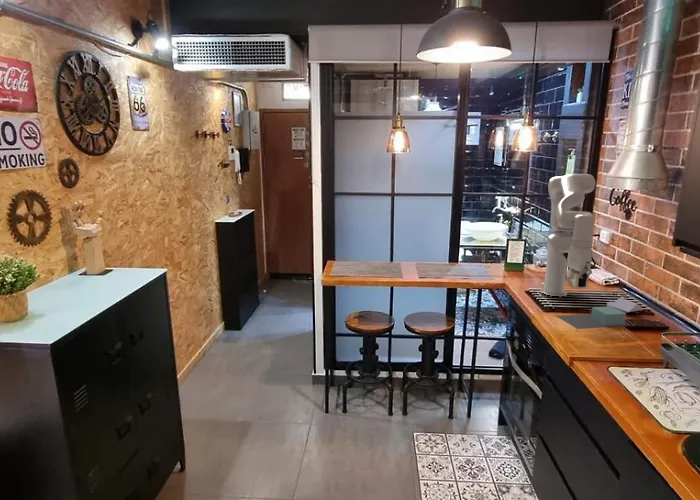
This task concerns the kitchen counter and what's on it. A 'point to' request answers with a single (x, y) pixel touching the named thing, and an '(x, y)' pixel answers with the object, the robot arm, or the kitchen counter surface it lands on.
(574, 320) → the mat
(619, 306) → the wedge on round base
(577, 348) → the kitchen counter surface
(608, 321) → the plinth
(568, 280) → the cream cube
